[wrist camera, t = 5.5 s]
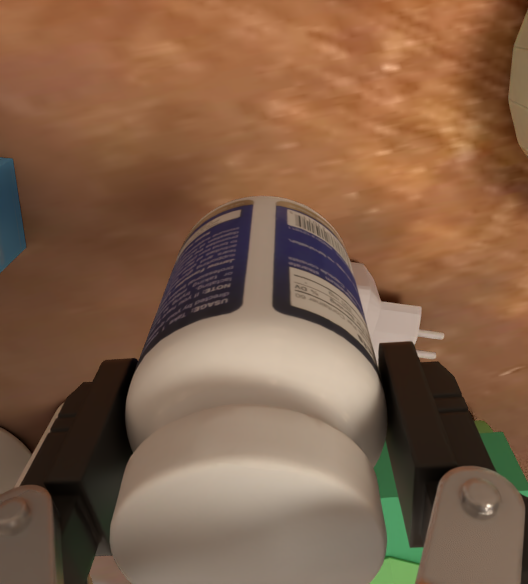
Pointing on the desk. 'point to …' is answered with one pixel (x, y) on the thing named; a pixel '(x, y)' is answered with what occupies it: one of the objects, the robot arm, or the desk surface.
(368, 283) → the charger
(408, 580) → the toy tank
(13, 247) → the perfume bottle
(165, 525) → the pill bottle
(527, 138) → the ceramic bowl
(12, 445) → the cylinder vase
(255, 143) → the desk surface
